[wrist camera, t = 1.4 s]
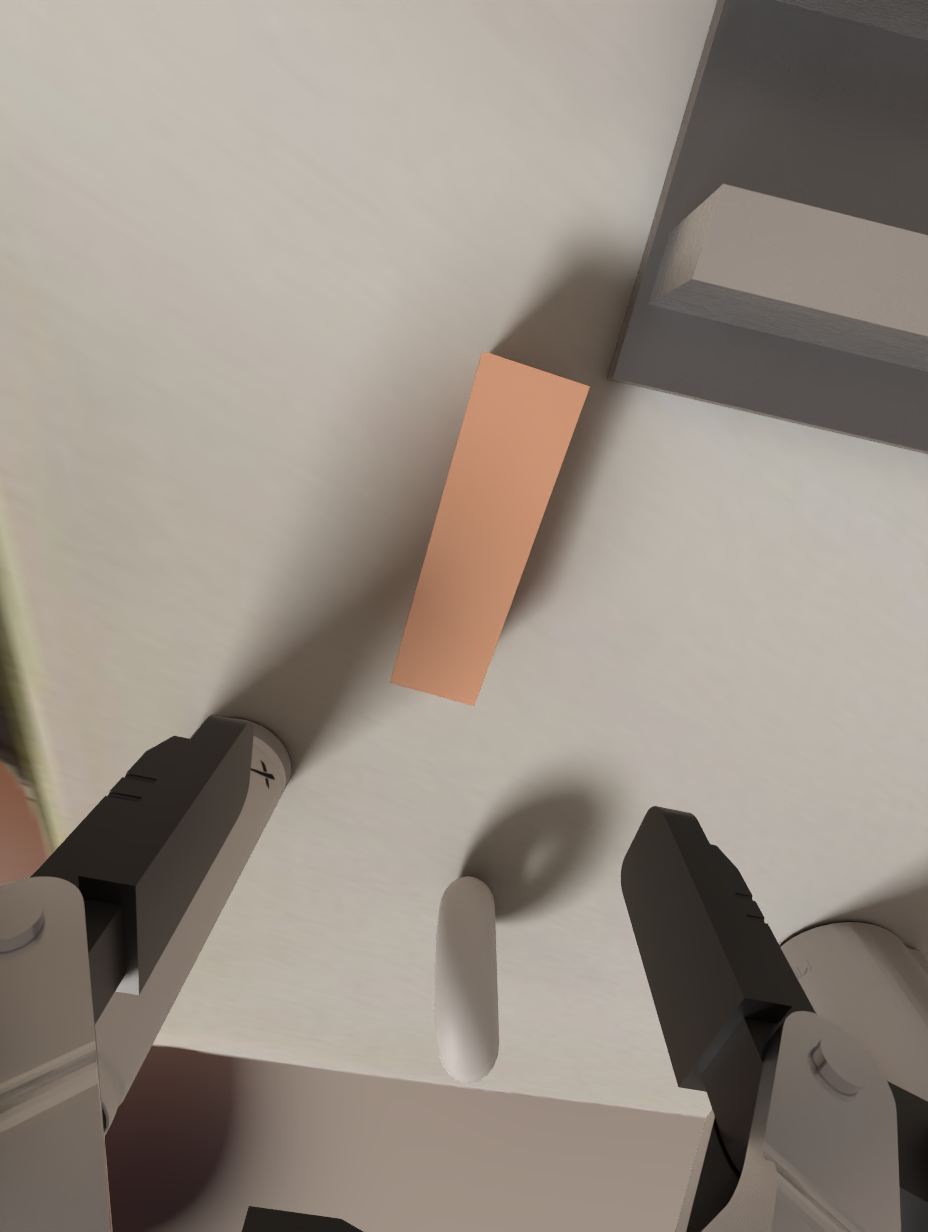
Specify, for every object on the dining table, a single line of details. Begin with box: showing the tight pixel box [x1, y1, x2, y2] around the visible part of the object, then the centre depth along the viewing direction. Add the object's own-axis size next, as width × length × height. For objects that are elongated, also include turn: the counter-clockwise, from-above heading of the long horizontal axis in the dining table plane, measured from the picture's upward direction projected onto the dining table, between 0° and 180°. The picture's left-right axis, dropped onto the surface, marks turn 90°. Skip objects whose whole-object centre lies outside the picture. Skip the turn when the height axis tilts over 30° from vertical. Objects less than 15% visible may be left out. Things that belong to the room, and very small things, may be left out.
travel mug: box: [95, 718, 291, 1136], centre depth 22 cm, size 6×7×20 cm
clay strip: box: [390, 351, 590, 706], centre depth 23 cm, size 4×14×5 cm, turn 163°
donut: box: [435, 876, 499, 1083], centre depth 31 cm, size 10×4×10 cm, turn 3°
